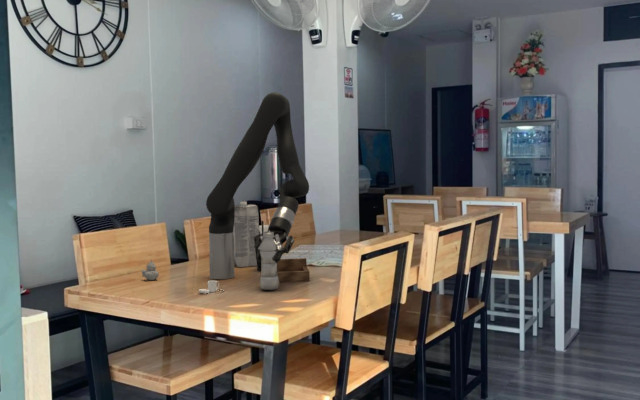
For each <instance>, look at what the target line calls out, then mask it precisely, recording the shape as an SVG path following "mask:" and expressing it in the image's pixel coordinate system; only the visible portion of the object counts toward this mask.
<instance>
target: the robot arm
mask: <svg viewBox="0 0 640 400" xmlns="http://www.w3.org/2000/svg"><path fill="white" fill-rule="evenodd" d="M291 120H292V119H291V106H290V101H289V99H288V98H287V97H286V96H285V95H283V94H281V93H280V92H269V93H268V94H266V95H265V97H263V99H262V101H261V103H260V105H259V108H258V110H257V112H256V114H255V117H254V119H253V121H252V122H251V124H250V126H249V127H248V129H247V130H246V132H245V134H244V136H243V137H242V139H241V140H240V142H239V144H238V146H237V147H236V149H235V150H234V153H233V154H232V156H231V158H230V160H229V161H228V163H227V166H226V168H225V170H224V172H223V174H222V175H221V178H220V179H219V181H218V182H217V183H216V185H215V187H214V188H213V190H211V191H210V193H209V195H208V196H207V198H206V201H205V204H206V209H207V211H208V212H209V213H210V223H209V226H208V239H209V240H208V241H209V247H208V248H209V253H208V256H209V257H208V260H209V261H208V263H209V264H208V265H209V266H208V267H209V279H211V280H213V279H214V280H227V279H232V278H235V272H236V271H235V264H234V233H233V228H234V221H235V206H234V205H235V198H234V196H235V194H236V192H237V190H238V188H240V185H241V184H242V183H243V182H244V181H245V180H246V179H247V177H248V176H249V175H250V173H251V172H252V171H253V170H254V169H255V167H256V165H257V163H258V162H259V161H260V159H261V157H262V154H263V153H264V150H265V147H266V144H267V139H268V138H269V137H268V136H269V134H270V131H271V129H272V128H273V126H274V130H275V134H276V135H275V136H276V148H277V149H276V150H277V158H278V160H279V161H278V162H279V164H280V169H281V172H282V174H284V175H290V176H291V177H292V179H289V180H285V182H283V184H282V185H281V187H280V193H279V194H280V196H279V203H278V204H277V208H276V210H275V211H274V213H273V215H272V218H271V220H270V223H269V224H268V225H269V227H268V231H271V232H274V237H273V239H274V240H275V242H276V243H277V245H278V251H277V253H276V255H275V257H274V261H275V263H278V261H280V259H282V257H283V255H284V254H289V253H290V251H291V249H292V247H293V244H294V243H295V239H294V237H293V235H289V234H290V232H291V229H292V227H293V225H294V221H295V217H296V214H297V213H298V212H297V211H298V209H299V202H298V200H297V199H296V198H301V197H304V196H307V195H308V193H309V191H310V184H309V181H308V178H307V177H306V175H305V173H304V171H303V168H302V166H301V165H300V161H299V157H298V153H297V148H296V145H295V144H296V142H295V139H294V135H293V127H292V121H291ZM263 240H264V238H263V236H261V235H260V233H259V234H258V235H257V238H256V242H255V245H254V247H255V249H256V251H257V254H256V259H257V261H258V262H260V261H261V256H260V249H259V247H260V244H261V243H262V241H263Z"/></svg>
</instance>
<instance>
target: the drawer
mask: <svg viewBox="0 0 640 400" xmlns="http://www.w3.org/2000/svg"><path fill="white" fill-rule="evenodd" d="M277 273H278V278H279V283H296V282H297V283H298V282H310V270H309V268H308V267H307V258H305V257H300V258H281V259H280V261H278V263H277Z"/></svg>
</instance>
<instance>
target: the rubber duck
mask: <svg viewBox="0 0 640 400" xmlns="http://www.w3.org/2000/svg"><path fill="white" fill-rule="evenodd" d="M140 271H141V274H142V278H144V279H146V280H147V281H155V280H157V279H158V277H159V275H160V274H159V272H158V270H157V266H156V265H155V262H154V261H153V260H152V259H151V260H150V261H149V262H148V263H147V265H146V269H142V270H140Z"/></svg>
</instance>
